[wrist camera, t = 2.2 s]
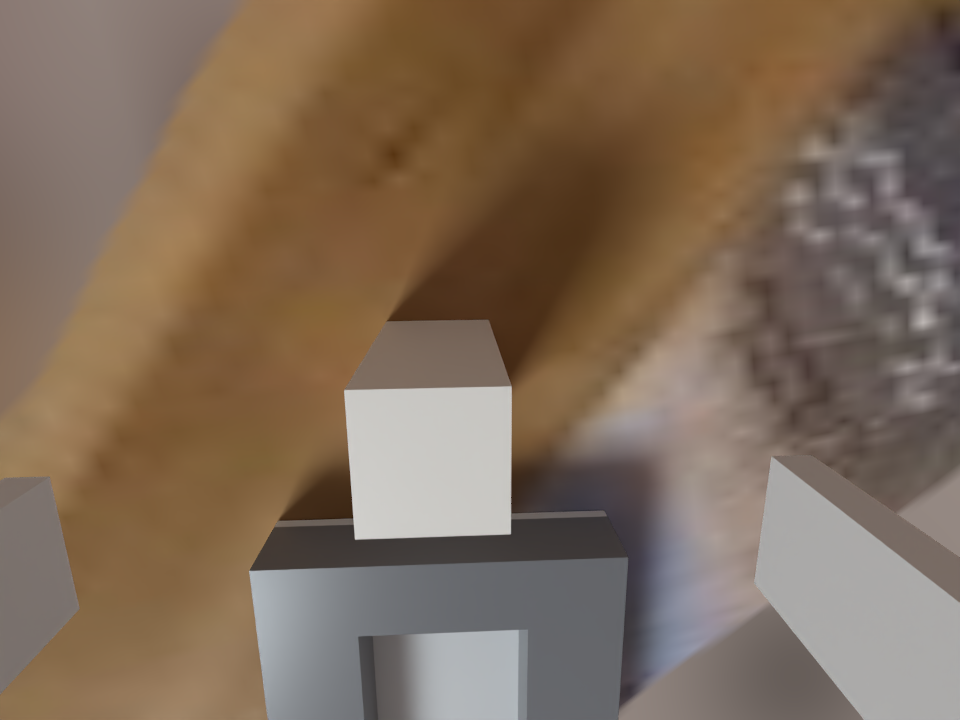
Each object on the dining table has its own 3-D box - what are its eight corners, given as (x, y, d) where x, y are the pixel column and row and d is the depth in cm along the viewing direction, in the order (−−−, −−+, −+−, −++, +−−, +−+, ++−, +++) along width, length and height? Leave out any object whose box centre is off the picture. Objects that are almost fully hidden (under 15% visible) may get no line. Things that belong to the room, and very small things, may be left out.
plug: (488, 415, 23) (510, 534, 15) (391, 417, 23) (355, 539, 14) (488, 319, 22) (511, 386, 14) (386, 321, 22) (344, 389, 13)
